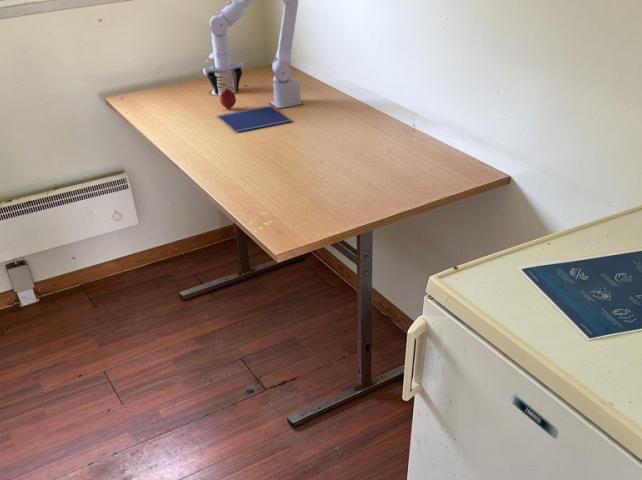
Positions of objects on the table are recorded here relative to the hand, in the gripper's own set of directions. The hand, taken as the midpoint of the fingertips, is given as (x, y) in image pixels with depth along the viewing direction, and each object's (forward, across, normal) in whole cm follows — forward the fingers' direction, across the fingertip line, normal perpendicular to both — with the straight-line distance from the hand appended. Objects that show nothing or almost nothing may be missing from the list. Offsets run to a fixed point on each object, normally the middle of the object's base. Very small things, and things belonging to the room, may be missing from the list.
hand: (226, 92), depth 243 cm
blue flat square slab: (+6, -4, +16) cm, 18 cm away
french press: (+6, -5, -23) cm, 24 cm away
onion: (+6, 0, 0) cm, 6 cm away
